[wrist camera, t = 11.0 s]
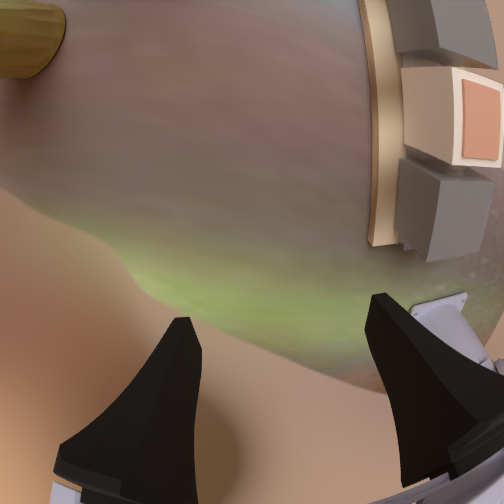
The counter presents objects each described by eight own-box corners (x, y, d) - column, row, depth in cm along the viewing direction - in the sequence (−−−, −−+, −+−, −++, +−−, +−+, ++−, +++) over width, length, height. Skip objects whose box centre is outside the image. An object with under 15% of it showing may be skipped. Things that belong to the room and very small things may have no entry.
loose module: (452, 146, 14) (502, 169, 10) (403, 143, 14) (454, 166, 10) (451, 78, 12) (505, 85, 7) (400, 68, 12) (454, 66, 7)
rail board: (446, 230, 19) (485, 267, 14) (367, 239, 20) (400, 286, 15) (444, -2, 9) (492, -12, 4) (350, -29, 9) (388, -62, 4)
